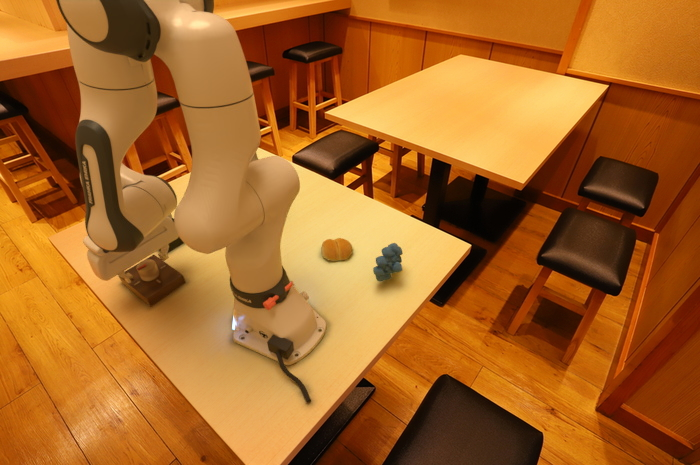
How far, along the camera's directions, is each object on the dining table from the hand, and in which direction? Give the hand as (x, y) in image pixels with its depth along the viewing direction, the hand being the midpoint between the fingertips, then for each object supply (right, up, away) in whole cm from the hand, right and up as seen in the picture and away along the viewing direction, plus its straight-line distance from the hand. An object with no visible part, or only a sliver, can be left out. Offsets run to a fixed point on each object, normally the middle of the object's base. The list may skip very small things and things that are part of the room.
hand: (148, 269), depth 94 cm
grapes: (+61, -4, +6) cm, 62 cm away
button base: (-4, +8, +18) cm, 20 cm away
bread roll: (+47, +3, +14) cm, 49 cm away
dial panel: (-1, -4, +4) cm, 6 cm away
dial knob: (-1, -2, +2) cm, 3 cm away
